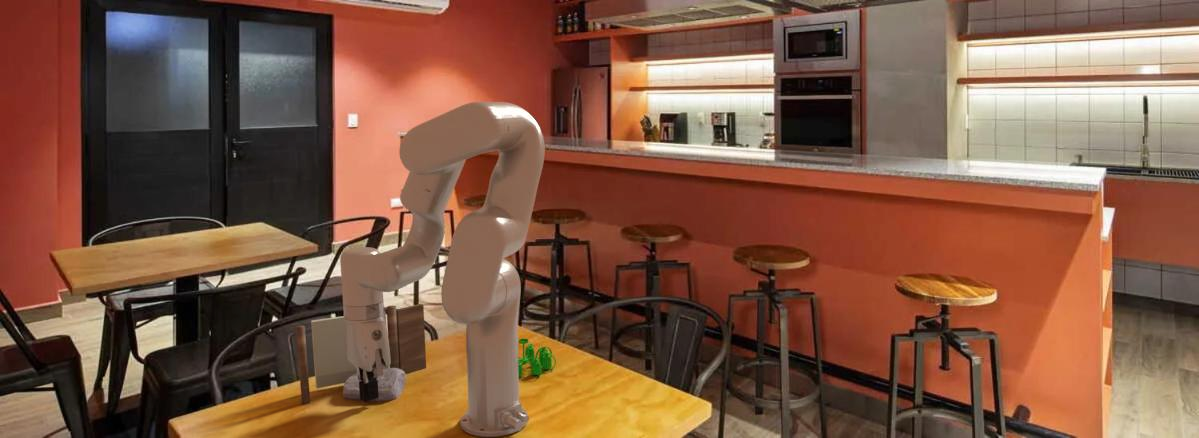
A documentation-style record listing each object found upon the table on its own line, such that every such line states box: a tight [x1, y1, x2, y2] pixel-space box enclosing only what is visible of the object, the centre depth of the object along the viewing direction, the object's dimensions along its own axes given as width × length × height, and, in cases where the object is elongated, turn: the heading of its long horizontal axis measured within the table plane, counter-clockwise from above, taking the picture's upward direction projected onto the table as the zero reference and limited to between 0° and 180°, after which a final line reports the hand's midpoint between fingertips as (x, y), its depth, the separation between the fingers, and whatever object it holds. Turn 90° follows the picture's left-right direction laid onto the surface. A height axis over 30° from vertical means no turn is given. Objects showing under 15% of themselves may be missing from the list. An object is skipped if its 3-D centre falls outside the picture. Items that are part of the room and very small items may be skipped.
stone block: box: [342, 367, 406, 403], centre depth 144 cm, size 12×5×10 cm
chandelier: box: [518, 338, 557, 378], centre depth 158 cm, size 15×15×7 cm
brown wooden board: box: [295, 303, 427, 405], centre depth 148 cm, size 2×28×16 cm, turn 135°
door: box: [310, 309, 390, 389], centre depth 148 cm, size 15×1×14 cm, turn 120°
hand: (369, 399), depth 138 cm, fingers closed
